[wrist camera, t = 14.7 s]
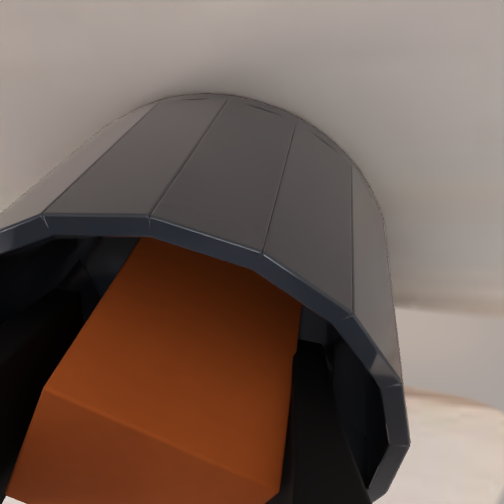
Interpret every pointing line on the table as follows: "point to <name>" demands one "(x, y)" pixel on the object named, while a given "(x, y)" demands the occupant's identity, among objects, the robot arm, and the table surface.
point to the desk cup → (230, 238)
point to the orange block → (167, 390)
